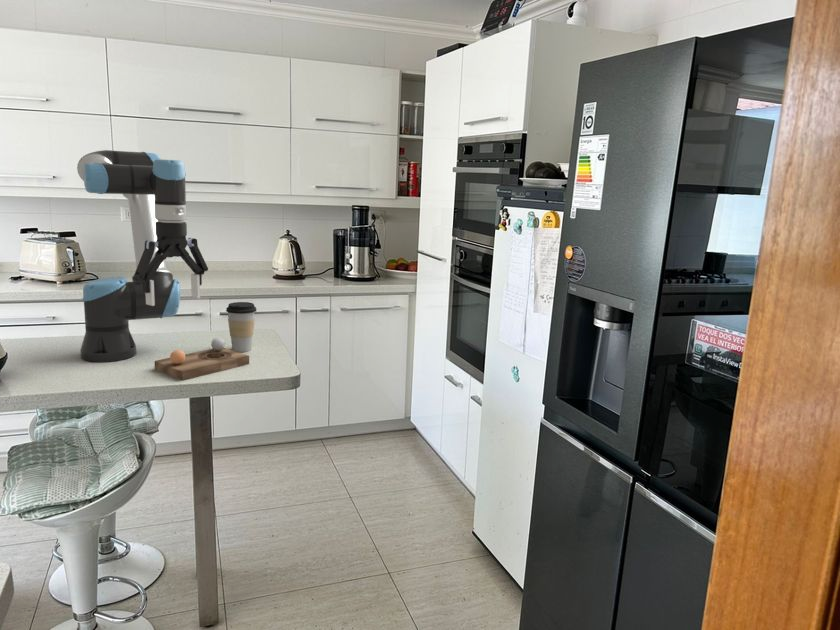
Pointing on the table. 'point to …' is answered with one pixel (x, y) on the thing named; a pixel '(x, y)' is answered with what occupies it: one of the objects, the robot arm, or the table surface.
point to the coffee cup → (241, 325)
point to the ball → (177, 357)
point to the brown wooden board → (202, 363)
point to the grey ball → (218, 344)
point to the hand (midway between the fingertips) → (173, 301)
